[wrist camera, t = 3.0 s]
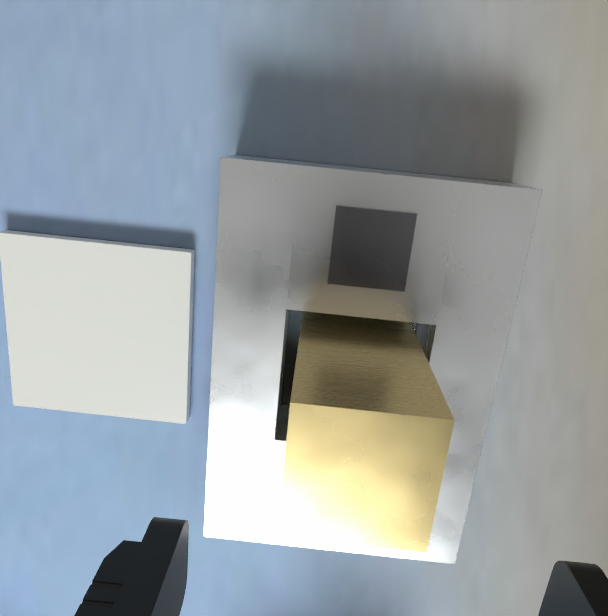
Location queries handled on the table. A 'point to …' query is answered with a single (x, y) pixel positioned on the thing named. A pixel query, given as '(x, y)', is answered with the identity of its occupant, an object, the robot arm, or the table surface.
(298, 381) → the brass peg
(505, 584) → the table surface
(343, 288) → the socket block
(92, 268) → the pad
